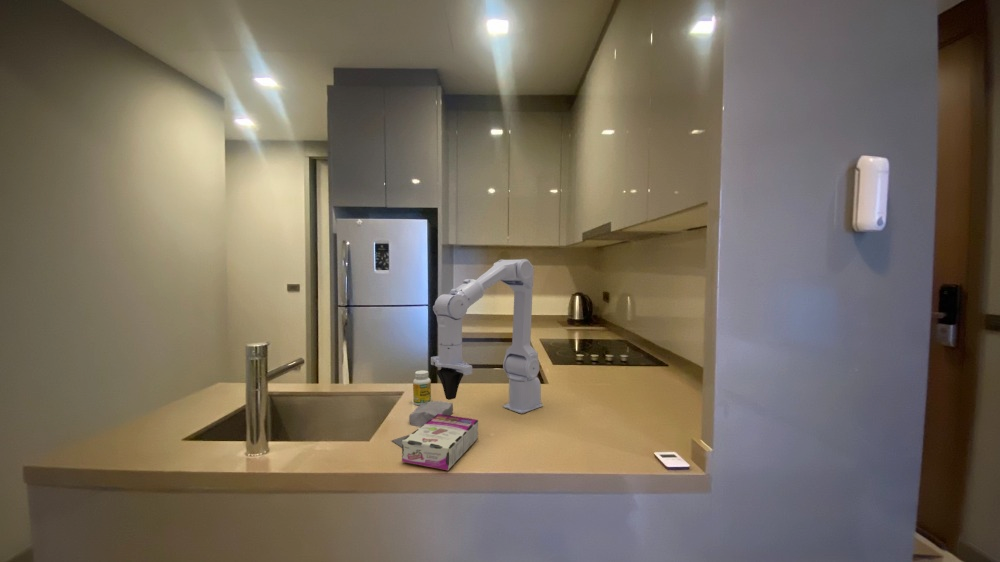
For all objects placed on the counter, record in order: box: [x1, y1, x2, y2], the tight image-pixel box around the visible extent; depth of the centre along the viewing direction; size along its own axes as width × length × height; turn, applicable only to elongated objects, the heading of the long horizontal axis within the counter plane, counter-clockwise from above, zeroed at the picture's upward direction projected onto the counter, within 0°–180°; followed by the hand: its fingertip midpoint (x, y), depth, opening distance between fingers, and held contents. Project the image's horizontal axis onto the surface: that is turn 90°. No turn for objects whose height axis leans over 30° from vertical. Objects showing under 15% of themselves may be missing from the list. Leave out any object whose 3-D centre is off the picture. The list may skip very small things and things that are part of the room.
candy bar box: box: [401, 414, 479, 471], centre depth 90 cm, size 11×5×16 cm
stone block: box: [408, 400, 454, 428], centre depth 110 cm, size 12×5×10 cm
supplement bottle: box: [412, 370, 432, 406], centre depth 122 cm, size 5×5×10 cm
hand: (450, 398), depth 98 cm, fingers closed
